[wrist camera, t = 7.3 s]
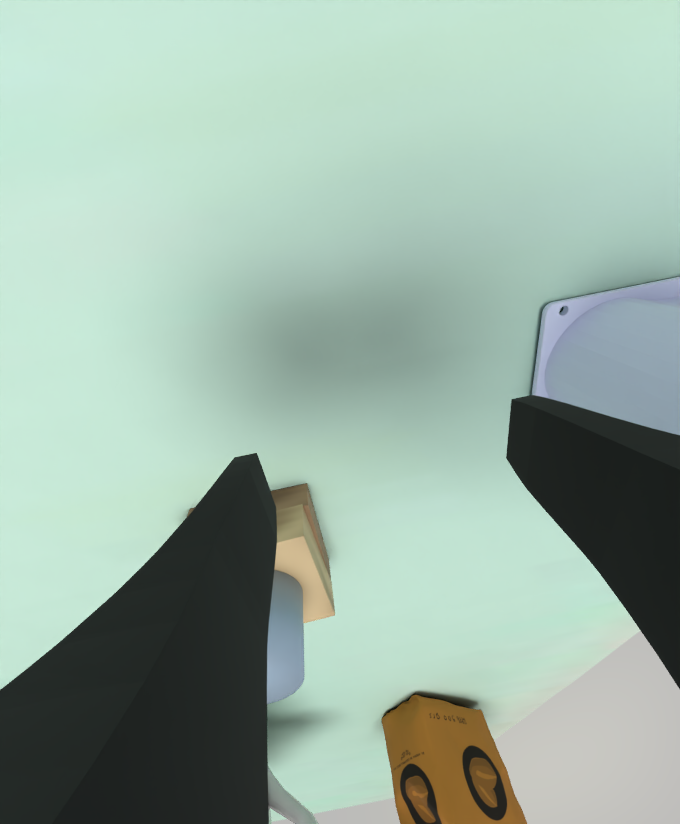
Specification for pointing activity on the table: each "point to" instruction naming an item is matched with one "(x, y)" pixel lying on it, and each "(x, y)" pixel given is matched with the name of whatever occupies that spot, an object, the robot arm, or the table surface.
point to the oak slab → (303, 562)
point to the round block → (285, 638)
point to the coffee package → (447, 766)
